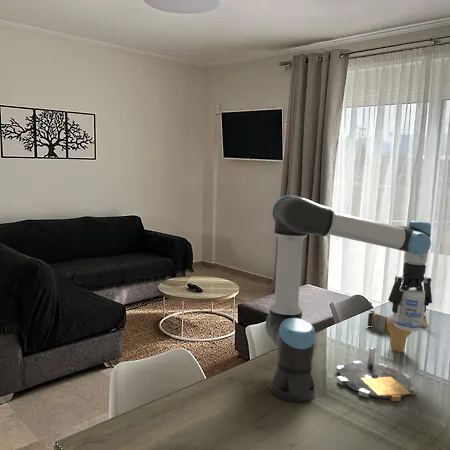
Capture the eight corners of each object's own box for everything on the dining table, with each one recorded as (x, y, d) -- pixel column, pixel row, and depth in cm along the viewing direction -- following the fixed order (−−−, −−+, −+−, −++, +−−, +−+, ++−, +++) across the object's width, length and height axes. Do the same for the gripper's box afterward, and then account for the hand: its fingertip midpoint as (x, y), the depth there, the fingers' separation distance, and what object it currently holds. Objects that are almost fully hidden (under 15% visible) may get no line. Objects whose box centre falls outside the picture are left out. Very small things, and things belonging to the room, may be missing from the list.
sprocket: (410, 410, 144) (414, 384, 143) (326, 386, 157) (328, 362, 156) (419, 377, 168) (421, 355, 167) (345, 358, 181) (347, 337, 180)
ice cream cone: (408, 347, 198) (414, 303, 195) (412, 357, 187) (417, 310, 185) (382, 343, 201) (387, 299, 198) (384, 352, 190) (389, 306, 188)
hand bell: (430, 324, 231) (433, 293, 229) (427, 328, 224) (431, 297, 222) (412, 320, 235) (416, 290, 233) (409, 324, 228) (413, 293, 226)
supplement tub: (404, 332, 165) (409, 293, 163) (387, 323, 174) (392, 286, 172) (426, 331, 168) (431, 293, 166) (408, 322, 177) (413, 286, 175)
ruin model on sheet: (366, 328, 220) (368, 309, 219) (369, 327, 222) (372, 308, 221) (388, 336, 211) (390, 316, 210) (391, 334, 213) (393, 314, 212)
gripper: (394, 264, 162) (386, 324, 165) (448, 265, 167) (440, 324, 170) (382, 259, 169) (375, 317, 172) (434, 261, 174) (427, 317, 177)
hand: (407, 320), depth 171 cm, fingers closed on supplement tub, 10 cm apart
